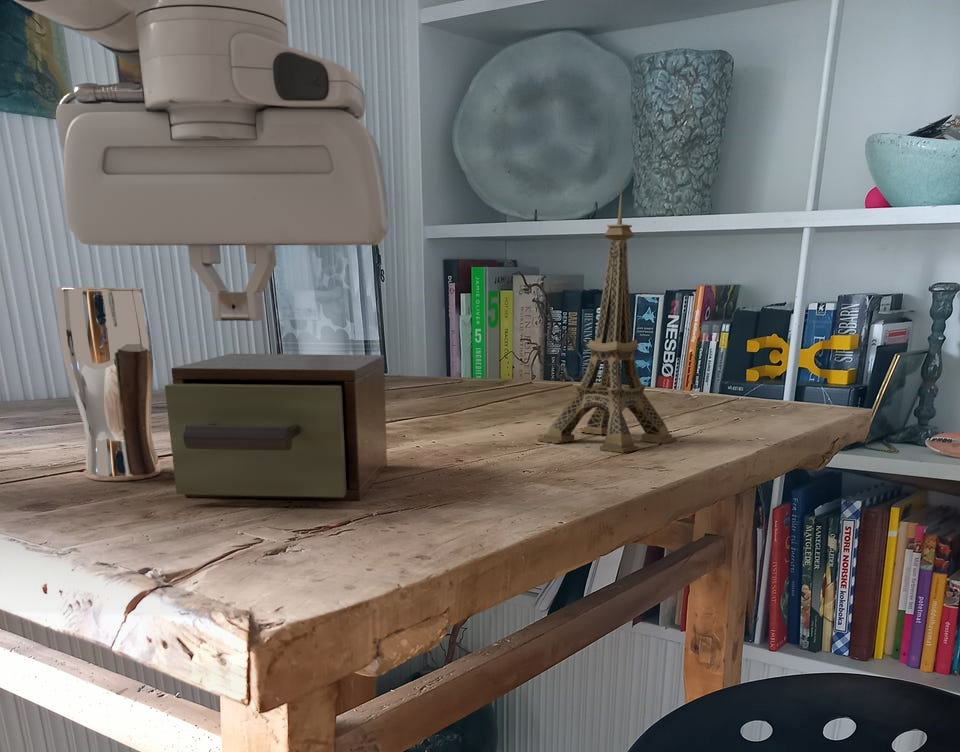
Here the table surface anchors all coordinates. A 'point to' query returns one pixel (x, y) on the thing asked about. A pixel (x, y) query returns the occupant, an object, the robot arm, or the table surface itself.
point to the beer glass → (110, 377)
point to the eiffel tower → (612, 366)
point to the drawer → (259, 437)
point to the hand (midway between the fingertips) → (238, 320)
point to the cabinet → (355, 370)
